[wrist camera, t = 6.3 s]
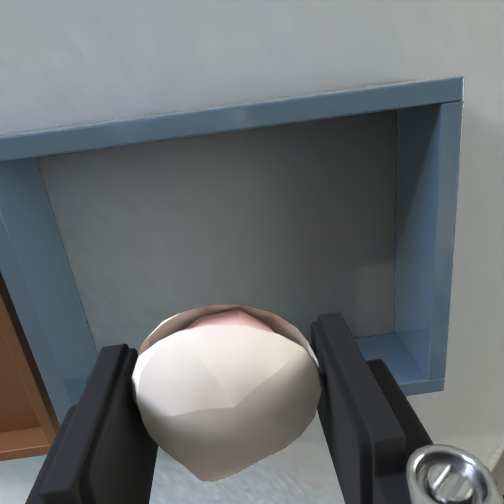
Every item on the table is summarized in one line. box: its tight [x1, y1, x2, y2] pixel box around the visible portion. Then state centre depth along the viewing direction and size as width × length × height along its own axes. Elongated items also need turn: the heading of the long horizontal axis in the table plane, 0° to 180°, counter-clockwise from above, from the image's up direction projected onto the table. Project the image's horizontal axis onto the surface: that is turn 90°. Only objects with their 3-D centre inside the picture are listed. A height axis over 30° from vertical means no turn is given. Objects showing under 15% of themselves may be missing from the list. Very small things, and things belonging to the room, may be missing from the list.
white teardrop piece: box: [132, 304, 324, 482], centre depth 10 cm, size 4×5×2 cm
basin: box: [0, 76, 465, 425], centre depth 18 cm, size 14×18×4 cm
